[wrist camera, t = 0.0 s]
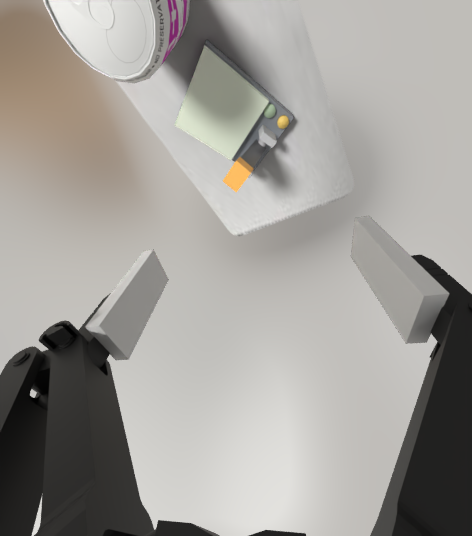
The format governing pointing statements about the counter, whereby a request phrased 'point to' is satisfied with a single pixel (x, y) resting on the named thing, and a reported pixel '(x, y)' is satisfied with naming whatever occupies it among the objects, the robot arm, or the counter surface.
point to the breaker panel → (229, 108)
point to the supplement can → (121, 33)
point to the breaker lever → (244, 165)
